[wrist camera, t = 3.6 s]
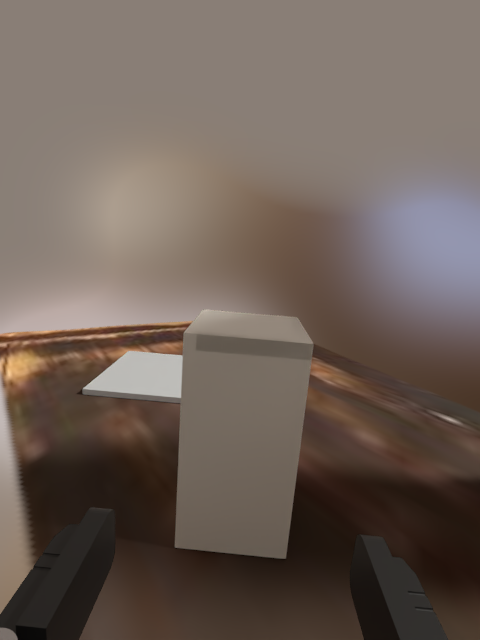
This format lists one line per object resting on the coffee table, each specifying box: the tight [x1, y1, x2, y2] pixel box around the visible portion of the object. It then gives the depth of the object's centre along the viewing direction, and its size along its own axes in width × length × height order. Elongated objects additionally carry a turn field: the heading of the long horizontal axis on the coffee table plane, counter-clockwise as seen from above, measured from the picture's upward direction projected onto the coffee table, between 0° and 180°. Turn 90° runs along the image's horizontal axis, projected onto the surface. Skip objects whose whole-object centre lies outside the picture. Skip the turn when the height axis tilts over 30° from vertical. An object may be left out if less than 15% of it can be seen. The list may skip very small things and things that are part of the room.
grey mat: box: [82, 351, 183, 403], centre depth 41 cm, size 13×13×1 cm
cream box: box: [175, 310, 313, 559], centre depth 20 cm, size 6×6×12 cm
